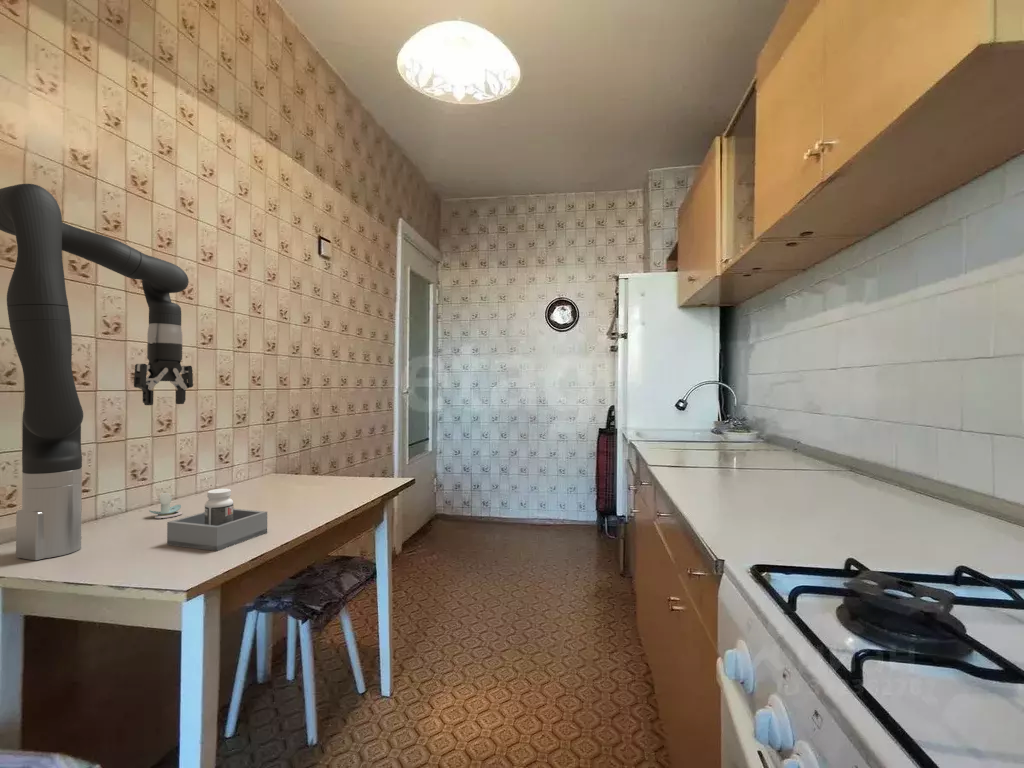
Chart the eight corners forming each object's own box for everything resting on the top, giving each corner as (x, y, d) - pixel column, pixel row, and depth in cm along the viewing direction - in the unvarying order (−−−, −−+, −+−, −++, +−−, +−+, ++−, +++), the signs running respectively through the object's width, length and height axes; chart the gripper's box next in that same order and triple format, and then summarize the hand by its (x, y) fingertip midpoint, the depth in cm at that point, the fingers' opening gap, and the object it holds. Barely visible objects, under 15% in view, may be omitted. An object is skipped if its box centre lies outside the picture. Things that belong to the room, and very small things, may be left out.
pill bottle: (238, 530, 117) (239, 488, 117) (222, 538, 112) (223, 493, 112) (215, 530, 118) (216, 487, 118) (198, 537, 112) (198, 492, 112)
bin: (217, 551, 106) (217, 527, 106) (167, 544, 110) (167, 522, 110) (267, 532, 119) (267, 511, 119) (221, 527, 123) (221, 507, 123)
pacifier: (187, 515, 136) (175, 512, 139) (188, 492, 136) (176, 489, 139) (157, 521, 130) (146, 517, 133) (157, 497, 130) (146, 494, 133)
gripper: (179, 345, 138) (179, 403, 138) (126, 340, 125) (126, 405, 125) (200, 344, 136) (200, 404, 136) (148, 339, 123) (148, 405, 122)
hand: (164, 404), depth 130 cm, fingers open, 8 cm apart
